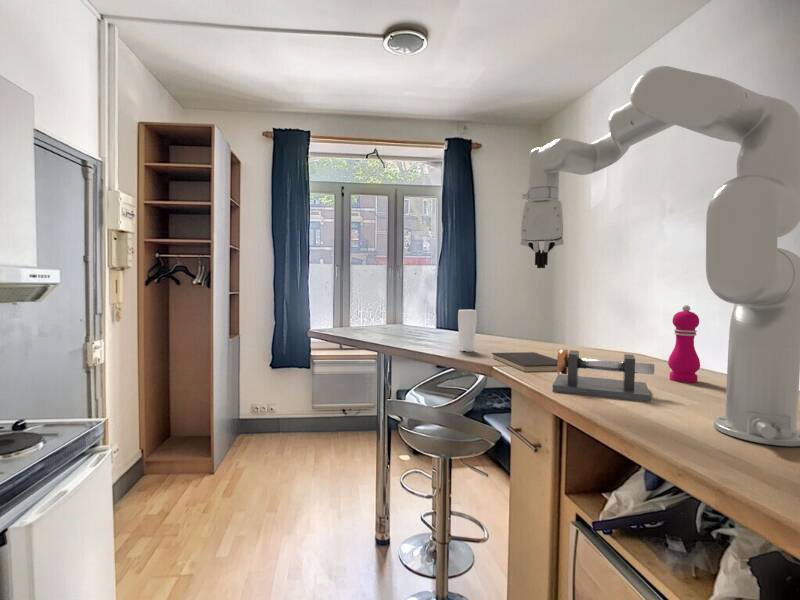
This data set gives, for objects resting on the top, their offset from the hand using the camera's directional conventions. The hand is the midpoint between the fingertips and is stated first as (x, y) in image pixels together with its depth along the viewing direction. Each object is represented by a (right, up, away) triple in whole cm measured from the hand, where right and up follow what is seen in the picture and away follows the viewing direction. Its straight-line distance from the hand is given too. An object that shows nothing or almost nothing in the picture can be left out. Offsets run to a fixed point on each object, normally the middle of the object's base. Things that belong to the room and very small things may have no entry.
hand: (541, 267), depth 118 cm
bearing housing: (+11, -30, -11) cm, 33 cm away
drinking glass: (-12, -27, +47) cm, 56 cm away
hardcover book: (+4, -29, +23) cm, 37 cm away
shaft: (+11, -27, -11) cm, 31 cm away
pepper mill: (+38, -30, +2) cm, 49 cm away
